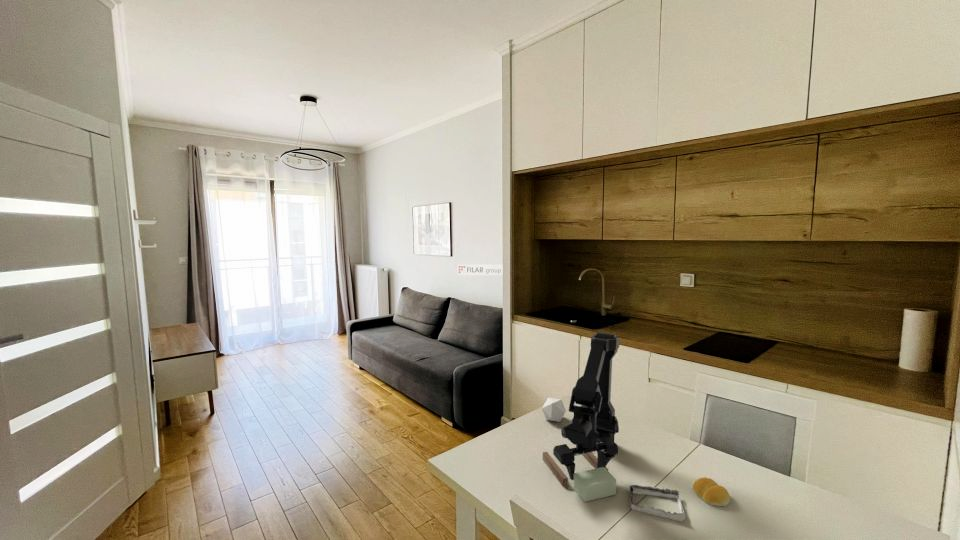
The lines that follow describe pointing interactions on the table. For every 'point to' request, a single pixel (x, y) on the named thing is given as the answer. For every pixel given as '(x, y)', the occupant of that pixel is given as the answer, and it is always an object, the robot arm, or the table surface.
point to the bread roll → (711, 492)
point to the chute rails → (559, 473)
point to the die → (553, 409)
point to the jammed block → (594, 484)
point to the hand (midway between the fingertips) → (585, 476)
